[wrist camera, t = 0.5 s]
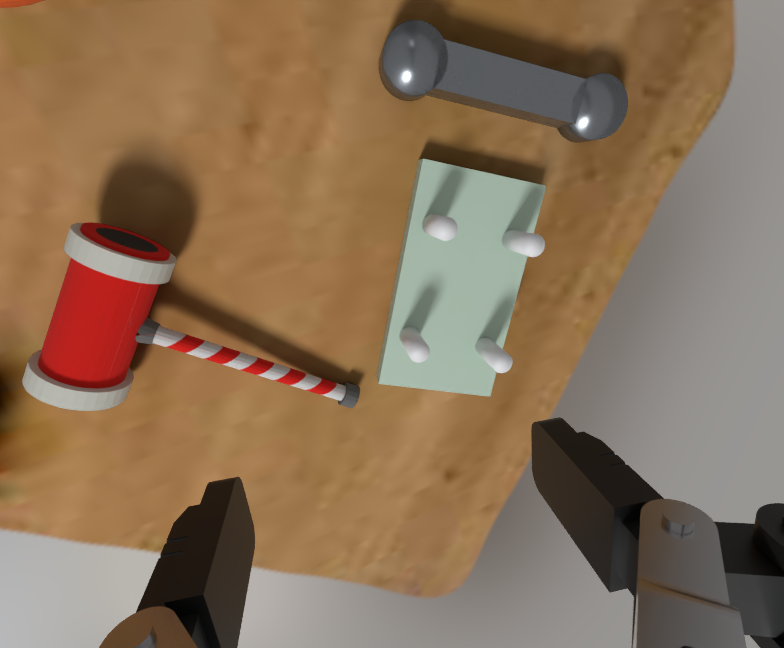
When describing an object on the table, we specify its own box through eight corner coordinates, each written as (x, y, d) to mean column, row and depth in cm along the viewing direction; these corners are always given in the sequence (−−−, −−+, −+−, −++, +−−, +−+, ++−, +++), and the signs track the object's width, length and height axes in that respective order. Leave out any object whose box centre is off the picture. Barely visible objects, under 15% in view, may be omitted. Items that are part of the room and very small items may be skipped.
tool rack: (418, 159, 34) (436, 154, 29) (537, 185, 36) (573, 185, 31) (376, 376, 39) (385, 405, 34) (484, 389, 41) (508, 418, 36)
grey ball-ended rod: (373, 93, 33) (377, 85, 30) (384, 25, 32) (390, 11, 29) (596, 147, 36) (616, 145, 34) (613, 89, 35) (635, 81, 33)
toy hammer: (383, 332, 38) (395, 359, 32) (328, 447, 41) (330, 492, 35) (99, 216, 33) (49, 222, 26) (53, 357, 35) (-2, 393, 29)
